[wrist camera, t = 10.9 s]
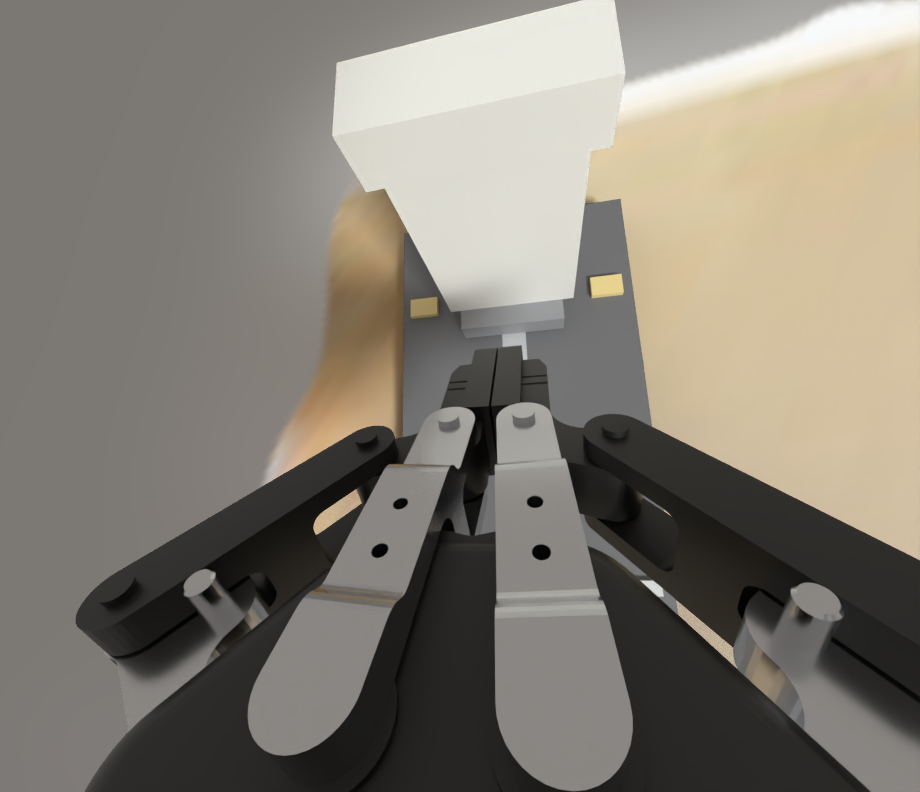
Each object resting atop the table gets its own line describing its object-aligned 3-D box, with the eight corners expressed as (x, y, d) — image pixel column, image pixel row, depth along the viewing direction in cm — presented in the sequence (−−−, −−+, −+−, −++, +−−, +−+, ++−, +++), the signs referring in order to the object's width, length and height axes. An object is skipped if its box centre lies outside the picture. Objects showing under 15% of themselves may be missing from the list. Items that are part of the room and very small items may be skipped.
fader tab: (576, 254, 21) (609, -33, 10) (584, 326, 20) (630, 102, 9) (446, 272, 23) (338, 40, 11) (447, 340, 22) (330, 162, 10)
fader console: (614, 222, 24) (621, 195, 21) (701, 875, 16) (724, 934, 14) (415, 252, 26) (402, 230, 24) (413, 834, 19) (395, 879, 16)
